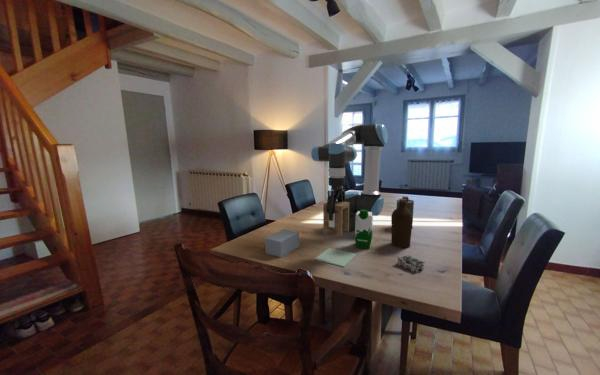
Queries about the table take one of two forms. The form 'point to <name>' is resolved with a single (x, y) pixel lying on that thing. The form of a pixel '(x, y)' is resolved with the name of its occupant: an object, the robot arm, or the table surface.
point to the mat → (336, 257)
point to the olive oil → (401, 225)
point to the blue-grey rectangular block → (282, 242)
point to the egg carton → (413, 262)
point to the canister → (407, 204)
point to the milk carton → (363, 229)
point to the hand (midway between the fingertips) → (336, 224)
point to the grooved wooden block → (337, 219)
